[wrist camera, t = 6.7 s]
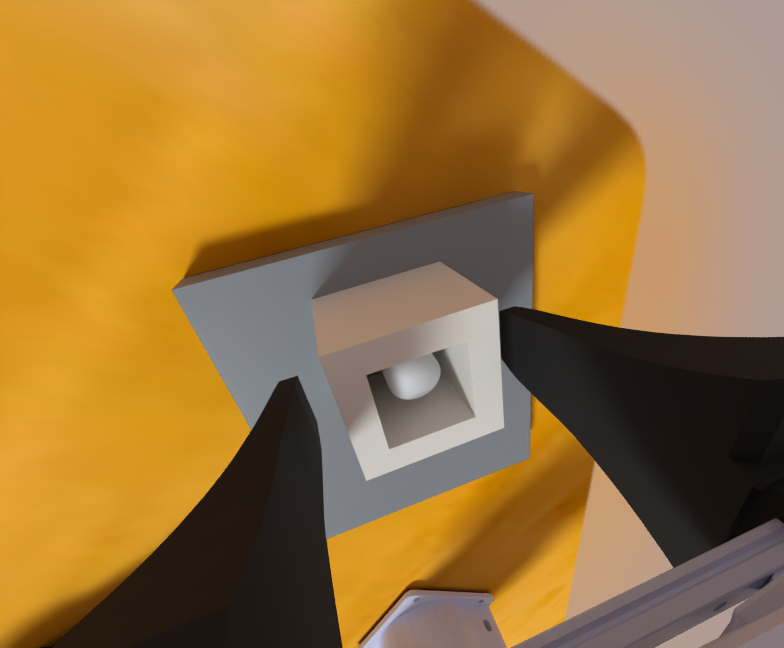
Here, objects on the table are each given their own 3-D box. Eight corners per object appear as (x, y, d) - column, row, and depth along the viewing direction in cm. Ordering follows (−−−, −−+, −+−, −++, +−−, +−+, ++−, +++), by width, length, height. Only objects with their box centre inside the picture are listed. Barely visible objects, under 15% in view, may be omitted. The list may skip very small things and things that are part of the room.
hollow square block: (454, 365, 15) (504, 428, 11) (348, 402, 14) (366, 481, 11) (440, 261, 12) (497, 299, 9) (311, 299, 12) (318, 357, 8)
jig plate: (517, 443, 20) (566, 503, 17) (314, 522, 18) (320, 609, 15) (515, 191, 13) (599, 201, 10) (183, 278, 11) (130, 332, 8)
